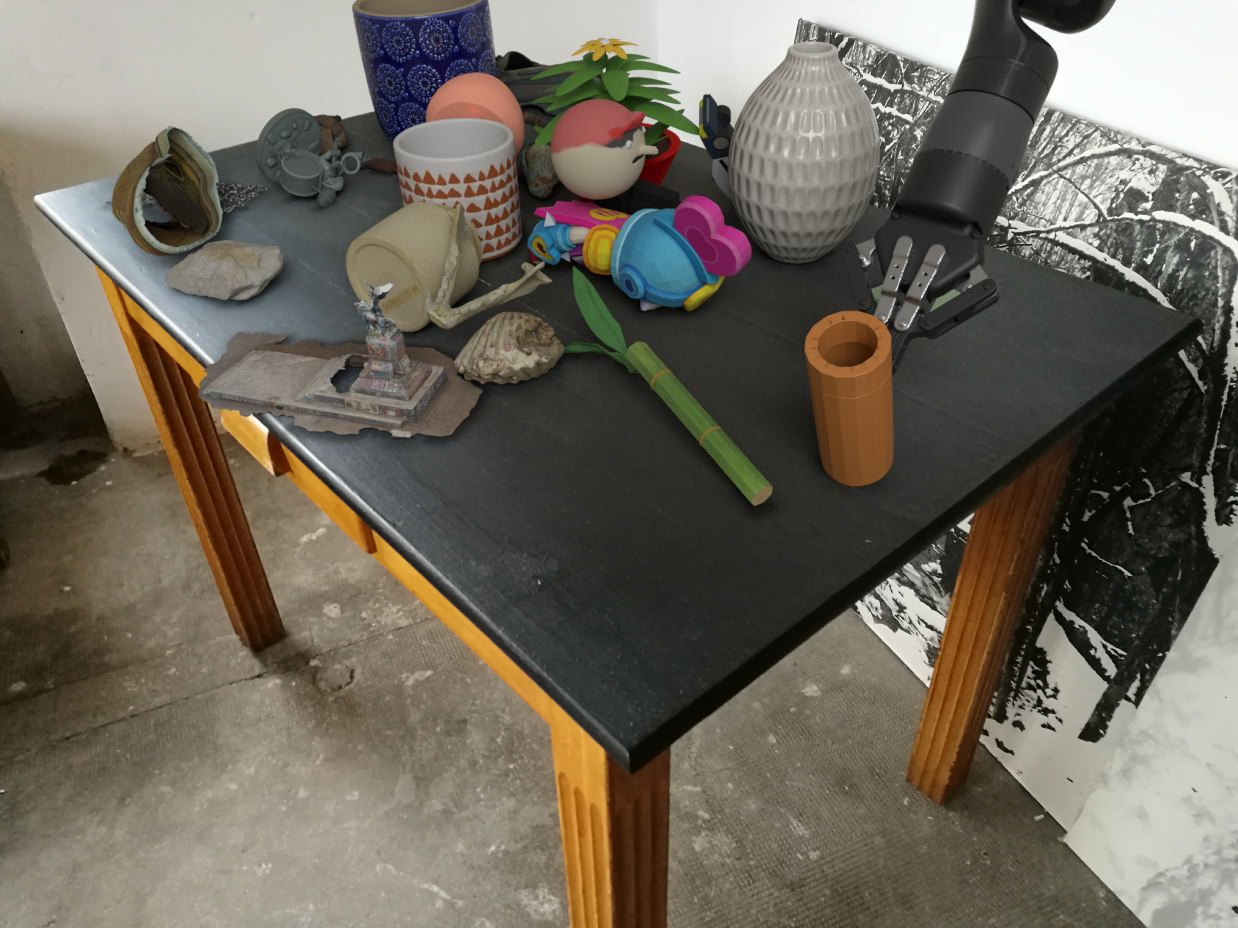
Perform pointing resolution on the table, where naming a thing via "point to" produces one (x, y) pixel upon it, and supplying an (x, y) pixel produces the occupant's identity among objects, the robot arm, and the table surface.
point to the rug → (219, 196)
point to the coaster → (938, 302)
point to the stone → (227, 270)
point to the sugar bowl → (411, 262)
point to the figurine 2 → (331, 132)
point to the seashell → (509, 350)
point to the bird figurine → (538, 163)
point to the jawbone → (450, 316)
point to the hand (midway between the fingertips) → (871, 376)
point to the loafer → (517, 77)
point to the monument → (380, 397)
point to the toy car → (716, 138)
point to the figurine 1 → (301, 156)
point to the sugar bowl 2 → (478, 103)
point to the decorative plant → (666, 390)
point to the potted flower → (620, 99)
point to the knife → (379, 164)
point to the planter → (419, 53)
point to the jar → (852, 395)
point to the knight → (645, 248)
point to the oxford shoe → (170, 194)
